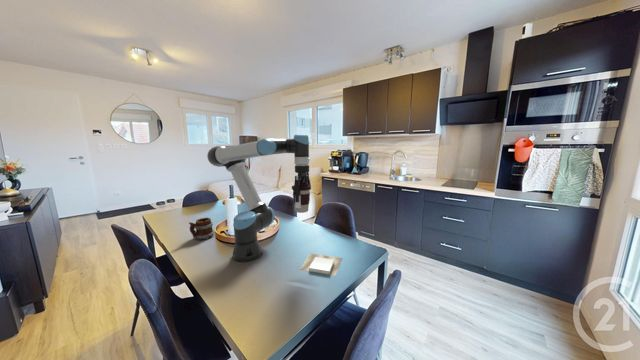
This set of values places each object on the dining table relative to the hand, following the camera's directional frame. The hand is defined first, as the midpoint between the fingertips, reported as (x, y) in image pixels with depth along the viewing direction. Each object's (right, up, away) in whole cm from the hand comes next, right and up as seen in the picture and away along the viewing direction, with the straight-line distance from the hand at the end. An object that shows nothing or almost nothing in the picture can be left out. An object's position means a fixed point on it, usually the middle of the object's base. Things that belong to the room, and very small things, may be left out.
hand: (302, 204), depth 117 cm
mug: (-68, -25, +27) cm, 78 cm away
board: (+10, -30, -7) cm, 33 cm away
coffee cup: (-1, -4, -2) cm, 4 cm away
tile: (+12, -28, -6) cm, 31 cm away
